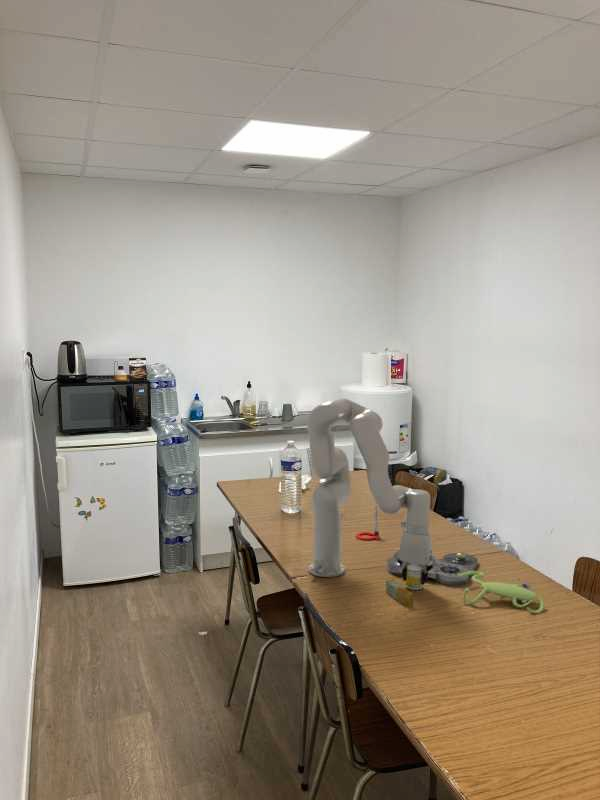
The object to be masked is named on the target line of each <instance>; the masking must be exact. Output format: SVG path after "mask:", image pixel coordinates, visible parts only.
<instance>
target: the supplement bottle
mask: <svg viewBox="0 0 600 800" xmlns="http://www.w3.org/2000/svg"><path fill="white" fill-rule="evenodd" d="M422 572H423V568H422V565H418V564H413V563H409V564H408V565H407V575H406V581H405V586H406V587H407V588H408V589H411V590H415V591H416V590H421V589H423V587H424V585H422V584H421V579H422Z"/></svg>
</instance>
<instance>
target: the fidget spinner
mask: <svg viewBox="0 0 600 800" xmlns="http://www.w3.org/2000/svg"><path fill="white" fill-rule="evenodd" d="M439 562H445V563H451V564H457V565H461V566H463V567H465V568H467V570H468V571H475V570H476V569H477V567H478V565H477V564H478V563H479V560H478V558H477V557H476V556H475V555H472V554H468V553H465V552H462V551H457V552H451V553H447V554H445V555H444V556H443V557H442V559H440V561H439ZM476 566H477V567H476ZM475 568H476V569H475ZM474 569H475V570H474ZM442 572H445V573H450V574H456V573H458V572H455V571H451V570H444V571H442ZM470 576H471V577H472V576H473V574H471V575H469V576H468V577H467V579H465V580H461V581H447V580H441V579H439V578H437V577H436V578H431V579H432V580H433V581H434V582H435V583H438V584H441V585H445V584H446V585H445V586H461V584H462V585H465V584H467V583H468V581H469V580H470V578H471V577H470ZM468 579H469V580H468ZM464 583H465V584H464Z"/></svg>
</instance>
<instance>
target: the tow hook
mask: <svg viewBox="0 0 600 800" xmlns="http://www.w3.org/2000/svg"><path fill="white" fill-rule="evenodd" d="M378 512H379V511H378V505H376V506H375V507H374V530H373V531H374V532H371V531H362V532H358V533H356V534H355V538H356V539H357V540H359V539H360V541H371V540H376V541H379V540H380V535H379V534H380V532H379V521H378V519H379V518H378V517H379V516H378V515H379V514H378ZM363 536H367V537H363Z"/></svg>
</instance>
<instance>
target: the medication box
mask: <svg viewBox="0 0 600 800" xmlns="http://www.w3.org/2000/svg"><path fill="white" fill-rule="evenodd" d="M385 584H386V585H385V586H386V588H385V589H386V593H387V594H389V595H390V596H391V597H393V598H394V599H395V600H397V601H398V602H399V603H401V604H402V605H403V606H405V607H411V606H413V605H414V593H412V592H411V591H409V590H408V589H407V588H405V587H403V585H401V584H399V583H398V582H396V581H395V580H394V579H390V580H386V582H385Z"/></svg>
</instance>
